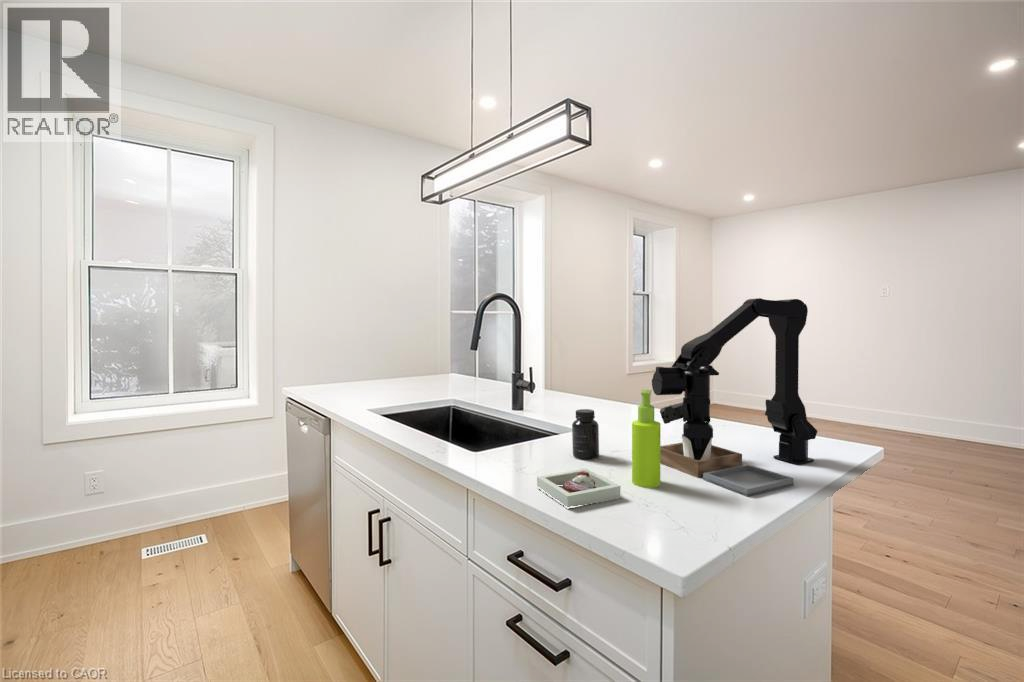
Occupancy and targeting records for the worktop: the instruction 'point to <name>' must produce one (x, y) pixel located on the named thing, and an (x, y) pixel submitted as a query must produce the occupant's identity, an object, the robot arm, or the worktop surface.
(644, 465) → the soap dispenser
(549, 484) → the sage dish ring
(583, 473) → the pastry
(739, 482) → the charcoal tray
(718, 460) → the walnut bin
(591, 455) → the supplement bottle
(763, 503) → the worktop surface
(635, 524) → the worktop surface
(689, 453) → the white tapered cup
